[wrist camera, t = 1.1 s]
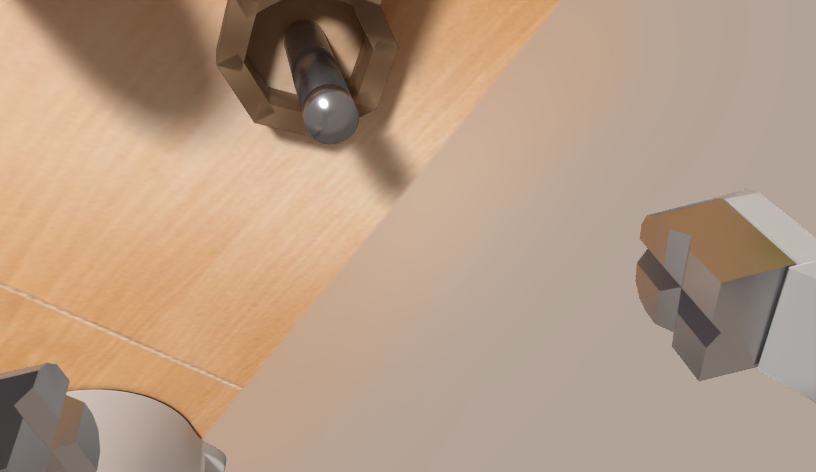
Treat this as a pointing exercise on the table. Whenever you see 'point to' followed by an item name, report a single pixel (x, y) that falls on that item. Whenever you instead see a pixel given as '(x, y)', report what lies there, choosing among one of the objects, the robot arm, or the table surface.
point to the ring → (285, 106)
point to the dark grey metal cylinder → (319, 84)
